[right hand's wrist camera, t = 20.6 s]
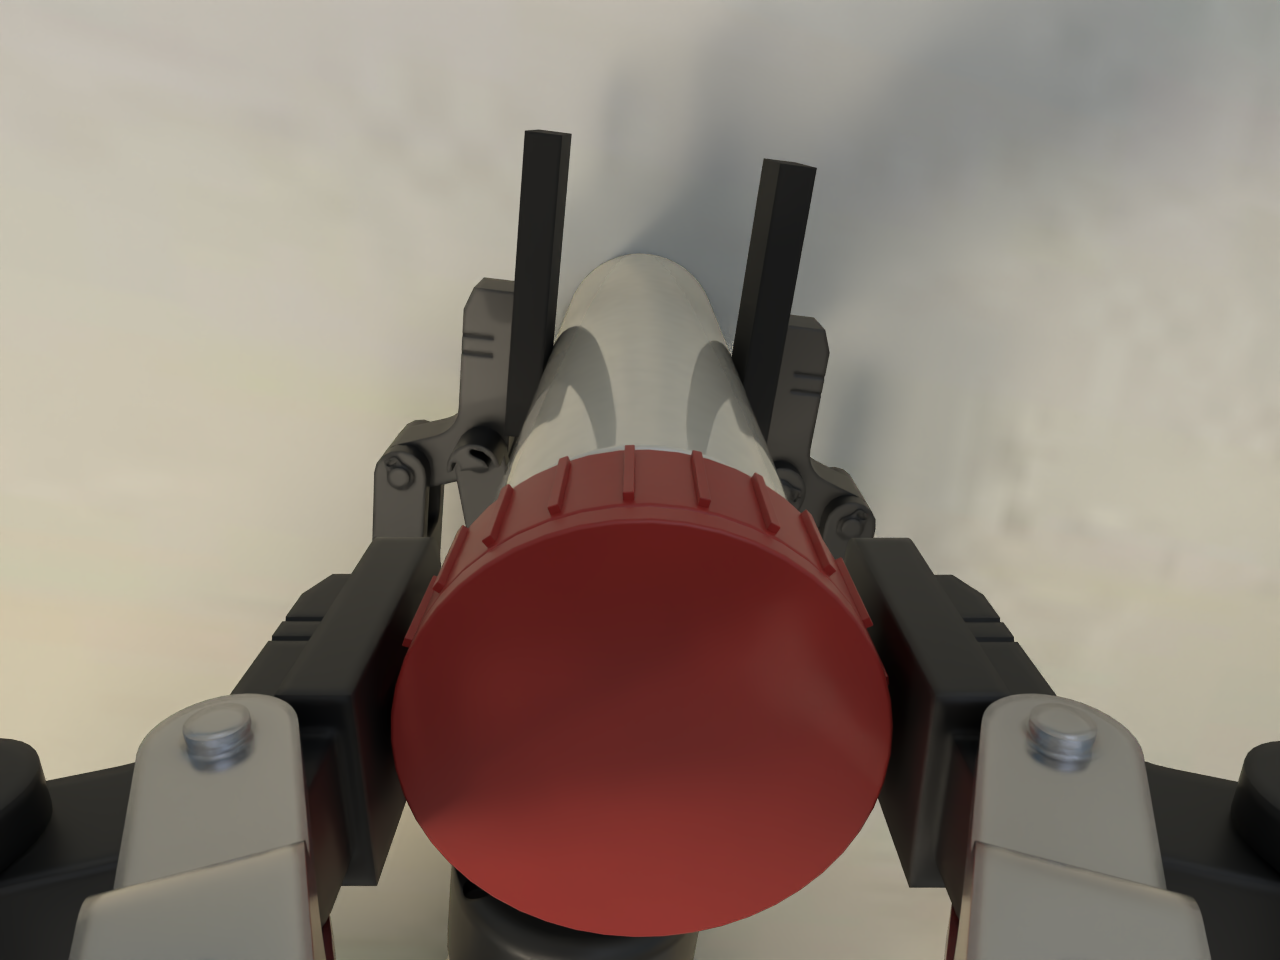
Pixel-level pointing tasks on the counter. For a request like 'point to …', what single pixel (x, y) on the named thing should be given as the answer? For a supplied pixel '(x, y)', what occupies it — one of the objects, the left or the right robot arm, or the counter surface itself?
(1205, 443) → the counter surface
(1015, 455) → the counter surface
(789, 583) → the lid
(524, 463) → the jar
